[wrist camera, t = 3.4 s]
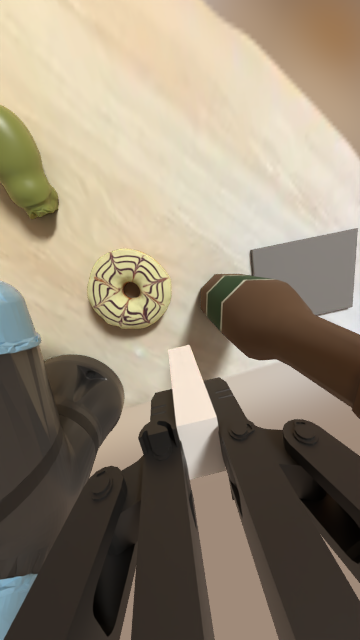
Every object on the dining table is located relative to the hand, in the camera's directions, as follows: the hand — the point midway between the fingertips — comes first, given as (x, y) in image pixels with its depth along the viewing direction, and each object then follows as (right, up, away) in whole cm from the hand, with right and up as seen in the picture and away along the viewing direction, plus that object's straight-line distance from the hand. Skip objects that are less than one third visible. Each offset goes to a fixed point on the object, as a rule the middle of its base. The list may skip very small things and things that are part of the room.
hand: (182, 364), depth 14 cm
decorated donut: (-7, +8, +15) cm, 18 cm away
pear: (-18, +20, +10) cm, 29 cm away
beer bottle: (+6, +7, +17) cm, 19 cm away
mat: (+19, +9, +17) cm, 27 cm away
